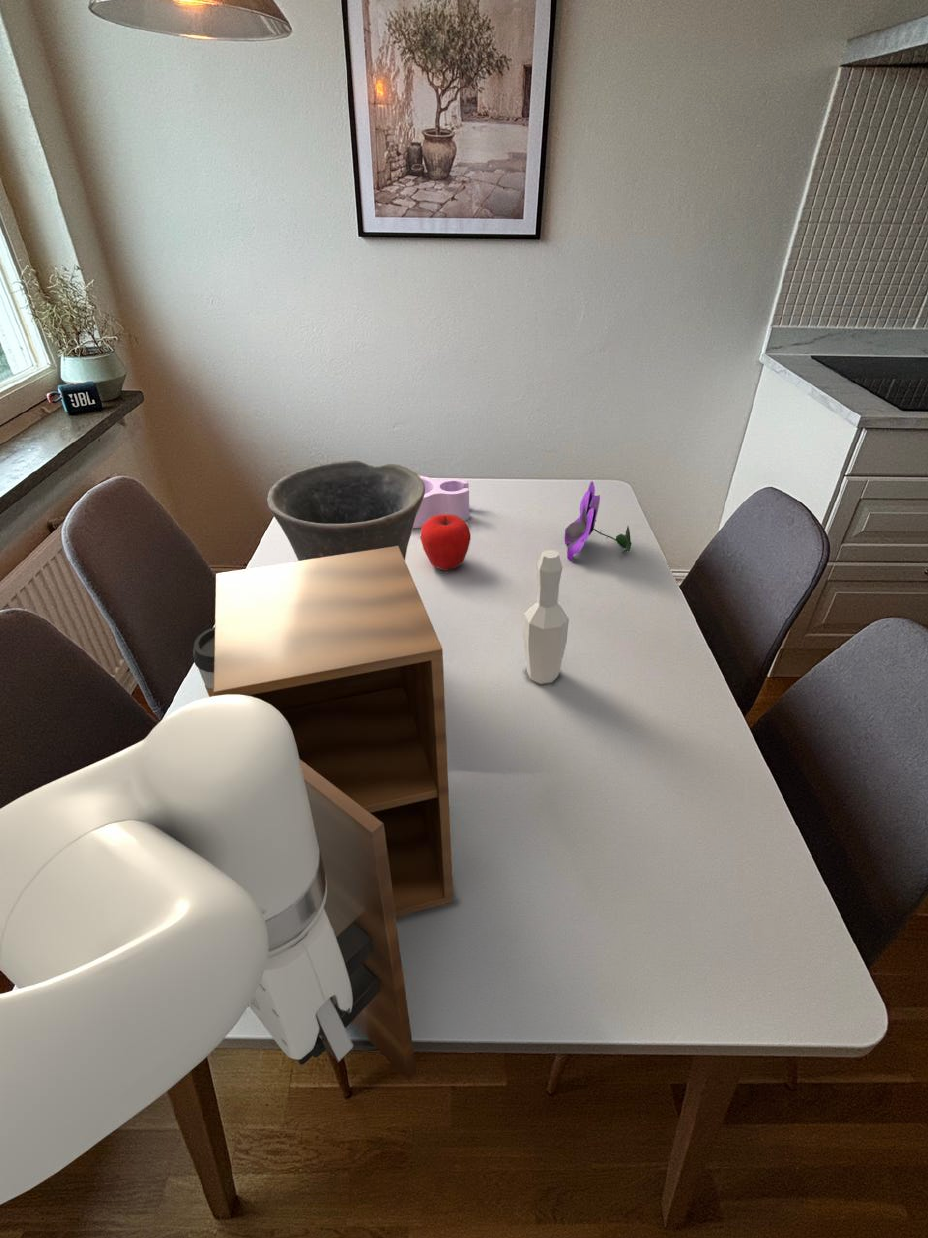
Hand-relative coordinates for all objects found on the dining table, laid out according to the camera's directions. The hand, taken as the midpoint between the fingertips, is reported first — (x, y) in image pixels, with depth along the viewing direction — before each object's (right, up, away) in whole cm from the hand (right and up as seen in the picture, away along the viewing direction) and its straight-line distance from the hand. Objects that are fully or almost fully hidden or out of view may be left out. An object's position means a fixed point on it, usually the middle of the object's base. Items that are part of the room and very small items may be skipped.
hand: (305, 1030), depth 50 cm
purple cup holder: (+3, +54, +104) cm, 117 cm away
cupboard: (-1, +2, +31) cm, 31 cm away
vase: (-4, +24, +63) cm, 67 cm away
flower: (+39, +44, +89) cm, 107 cm away
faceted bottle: (+24, +21, +58) cm, 67 cm away
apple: (+8, +41, +86) cm, 96 cm away
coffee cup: (-21, +15, +51) cm, 57 cm away
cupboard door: (-2, -10, +15) cm, 18 cm away
